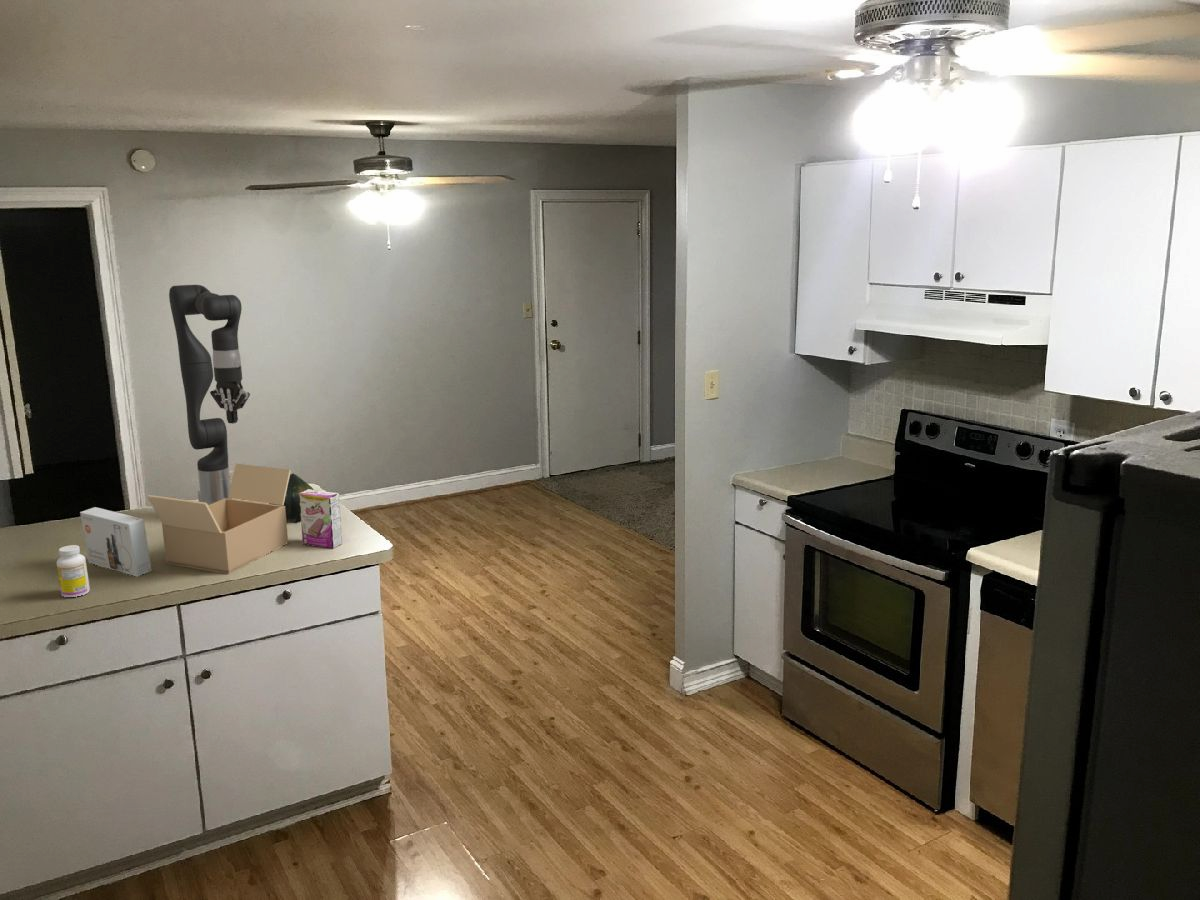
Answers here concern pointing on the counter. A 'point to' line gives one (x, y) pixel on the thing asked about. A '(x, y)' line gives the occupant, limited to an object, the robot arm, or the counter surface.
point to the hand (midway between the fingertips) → (232, 422)
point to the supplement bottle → (72, 572)
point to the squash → (294, 496)
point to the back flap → (259, 484)
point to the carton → (228, 537)
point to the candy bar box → (320, 518)
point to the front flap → (184, 513)
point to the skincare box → (116, 541)
